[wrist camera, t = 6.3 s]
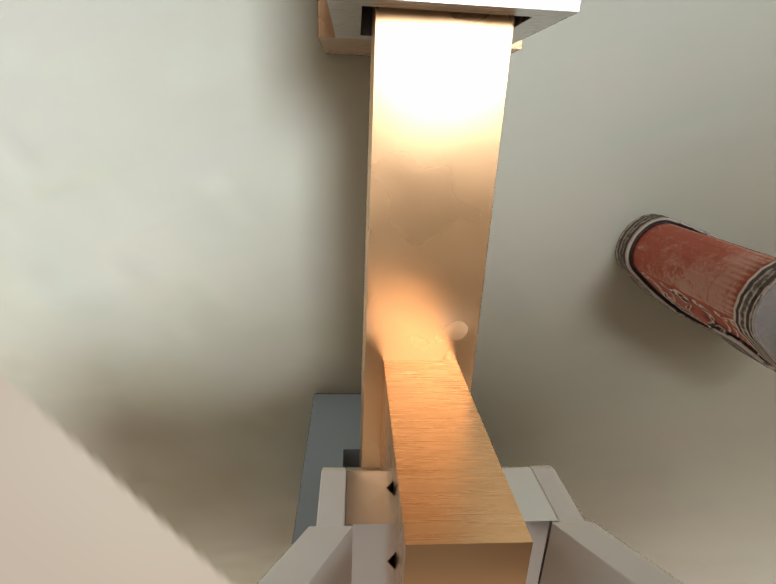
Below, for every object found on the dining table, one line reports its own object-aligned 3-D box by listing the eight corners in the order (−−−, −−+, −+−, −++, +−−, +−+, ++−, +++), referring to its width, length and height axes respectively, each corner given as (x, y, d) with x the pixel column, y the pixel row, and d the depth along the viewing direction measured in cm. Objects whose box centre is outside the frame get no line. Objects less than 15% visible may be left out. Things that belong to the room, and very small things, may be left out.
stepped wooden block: (374, -63, 12) (417, -477, 4) (489, -54, 12) (775, -427, 4) (357, 528, 19) (359, 865, 10) (432, 527, 19) (495, 854, 10)
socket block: (314, 393, 22) (282, 606, 12) (466, 394, 22) (548, 598, 13) (315, 506, 24) (289, 761, 14) (453, 504, 24) (515, 749, 15)
